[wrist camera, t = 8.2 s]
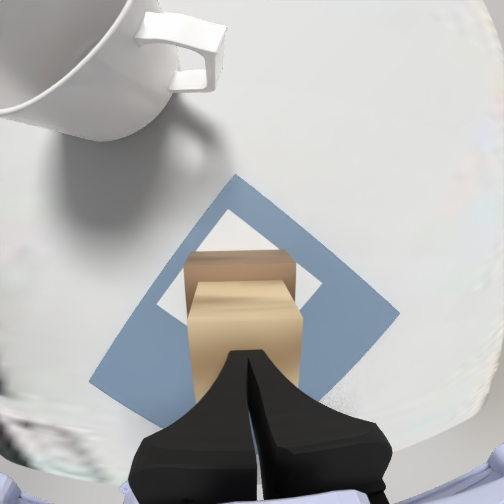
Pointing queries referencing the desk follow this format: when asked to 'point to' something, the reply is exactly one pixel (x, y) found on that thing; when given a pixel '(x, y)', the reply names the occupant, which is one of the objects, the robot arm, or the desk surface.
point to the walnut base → (238, 269)
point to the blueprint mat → (306, 299)
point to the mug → (99, 63)
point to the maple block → (242, 327)
